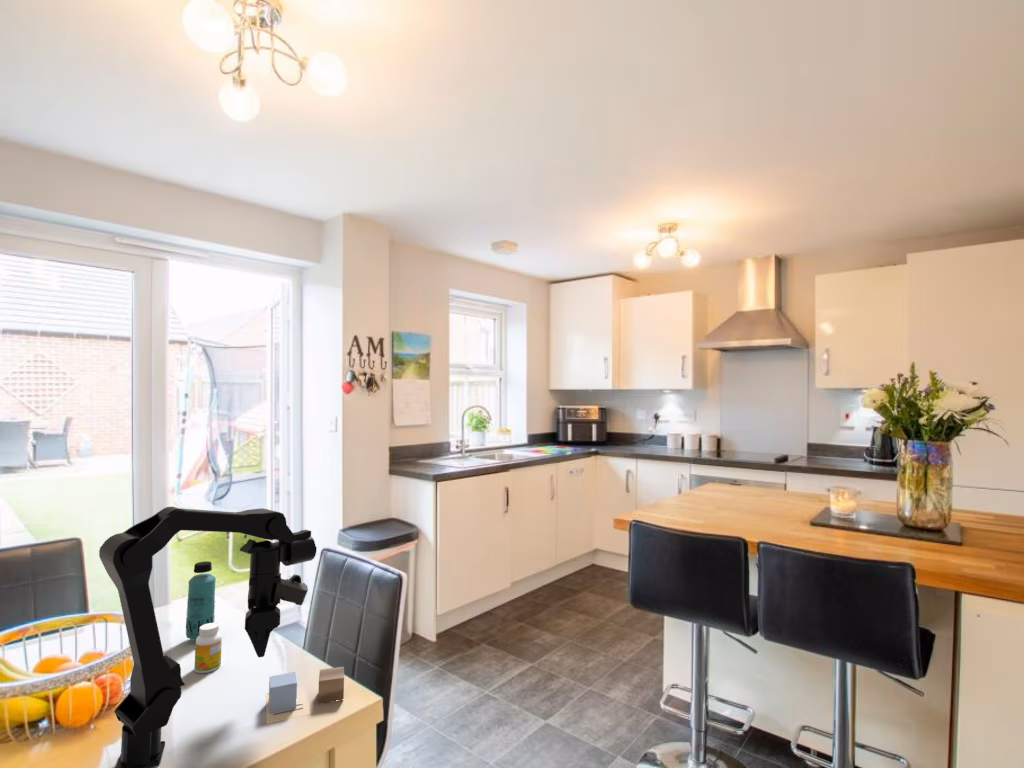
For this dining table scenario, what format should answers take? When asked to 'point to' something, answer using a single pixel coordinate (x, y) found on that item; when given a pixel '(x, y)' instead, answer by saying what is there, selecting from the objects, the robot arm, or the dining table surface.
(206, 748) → the dining table surface
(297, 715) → the letter
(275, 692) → the cube
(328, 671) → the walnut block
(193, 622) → the beverage bottle
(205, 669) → the supplement bottle
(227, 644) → the dining table surface
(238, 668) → the dining table surface
